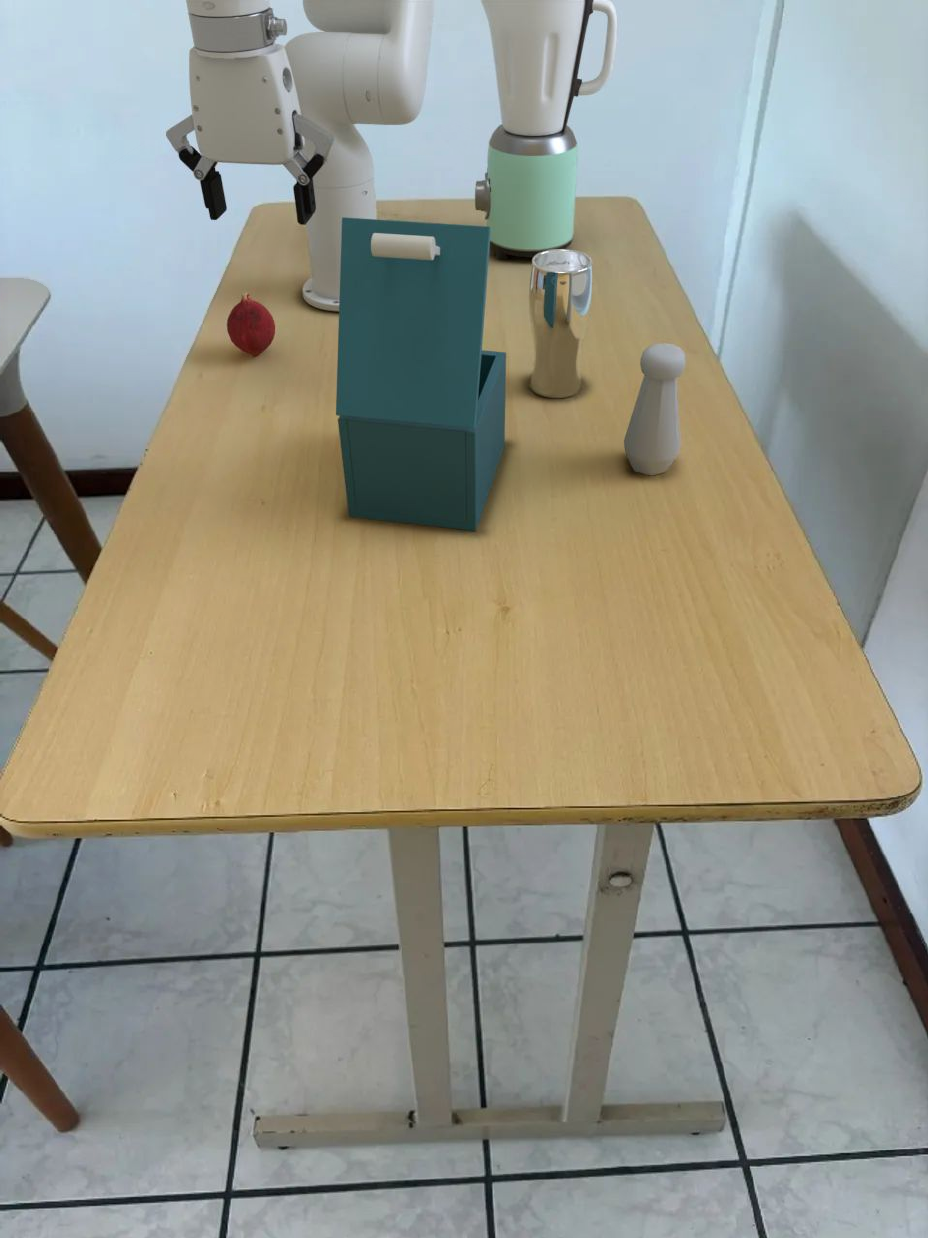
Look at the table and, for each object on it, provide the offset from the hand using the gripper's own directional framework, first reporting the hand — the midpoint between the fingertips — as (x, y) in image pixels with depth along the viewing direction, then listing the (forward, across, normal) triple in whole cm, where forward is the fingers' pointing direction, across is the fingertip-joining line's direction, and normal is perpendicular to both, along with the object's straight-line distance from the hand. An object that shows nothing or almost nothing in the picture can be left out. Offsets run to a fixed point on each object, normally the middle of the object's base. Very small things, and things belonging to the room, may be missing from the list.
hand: (262, 217), depth 101 cm
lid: (+1, -21, +21) cm, 30 cm away
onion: (+20, +6, -6) cm, 22 cm away
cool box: (+19, -21, +17) cm, 33 cm away
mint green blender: (+20, -24, -47) cm, 56 cm away
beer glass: (+20, -32, -4) cm, 38 cm away
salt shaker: (+20, -43, +11) cm, 49 cm away
